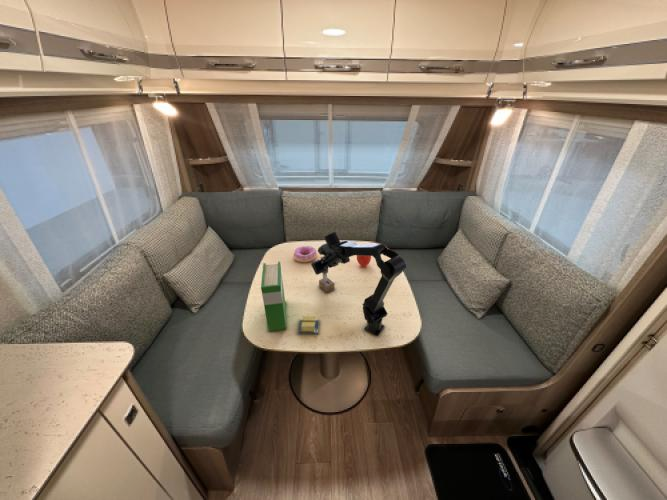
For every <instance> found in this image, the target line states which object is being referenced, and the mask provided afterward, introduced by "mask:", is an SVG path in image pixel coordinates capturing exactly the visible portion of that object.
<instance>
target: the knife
mask: <svg viewBox="0 0 667 500" xmlns="http://www.w3.org/2000/svg"><path fill="white" fill-rule="evenodd" d="M323 257H324V255H322V256H321V257H320V259H323V260H325V259H324V258H323ZM328 273H329V269H328V270H326V271H324V272H322V273H321V274H322V279H323V280H324V281H325V282H327V278H328Z"/></svg>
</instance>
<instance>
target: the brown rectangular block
mask: <svg viewBox="0 0 667 500" xmlns="http://www.w3.org/2000/svg"><path fill="white" fill-rule="evenodd" d="M318 287H319V288H320V289H321V290H323V291H324V292H325V293H326V294H328V293H330V292H332V291H334V290H335V282H334V281H332V280H331V279H330V278H328V277H327V282H325V281H324V280H323V278H320V279H319V280H318Z"/></svg>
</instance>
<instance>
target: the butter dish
mask: <svg viewBox="0 0 667 500" xmlns="http://www.w3.org/2000/svg"><path fill="white" fill-rule="evenodd" d="M319 326H320V320H319V319H317V318H316V315H303V316H302V319H300V321H299V325H298V332H297V333H298V334H299V335H300V334H301V335H305V334H306V335H307V334H308V335H309V334H310V335H318V334H319V328H320V327H319Z"/></svg>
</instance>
